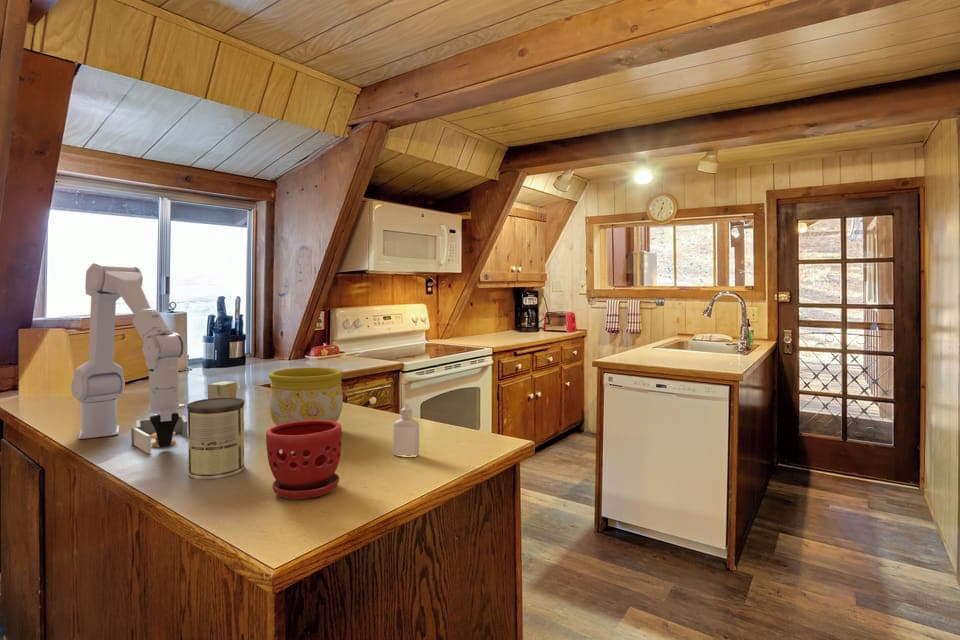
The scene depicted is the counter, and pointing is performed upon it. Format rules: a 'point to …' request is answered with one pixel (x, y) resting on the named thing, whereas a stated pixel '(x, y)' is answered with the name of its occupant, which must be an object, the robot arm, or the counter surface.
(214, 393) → the skincare box
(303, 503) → the counter surface
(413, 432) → the eye dropper bottle
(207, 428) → the coffee can
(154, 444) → the door knob
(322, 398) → the flowerpot
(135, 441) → the cover
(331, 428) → the plant pot
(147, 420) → the open grey tray
